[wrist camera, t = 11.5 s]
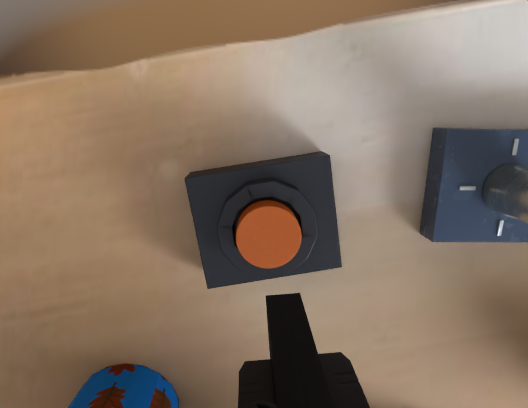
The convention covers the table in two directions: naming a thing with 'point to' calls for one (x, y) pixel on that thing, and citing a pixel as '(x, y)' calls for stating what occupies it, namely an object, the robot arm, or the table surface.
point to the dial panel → (470, 185)
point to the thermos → (126, 389)
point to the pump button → (268, 234)
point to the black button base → (257, 189)
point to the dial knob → (508, 191)
